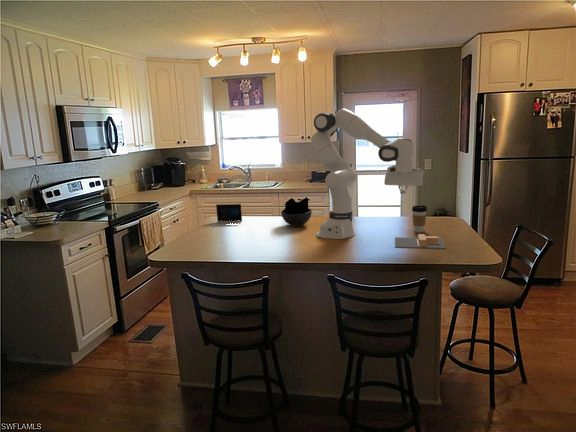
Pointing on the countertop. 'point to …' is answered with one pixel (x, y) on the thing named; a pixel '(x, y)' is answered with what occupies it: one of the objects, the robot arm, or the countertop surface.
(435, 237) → the t block
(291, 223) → the coal bowl
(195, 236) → the countertop surface
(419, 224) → the coffee cup
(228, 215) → the laptop
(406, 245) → the t mat
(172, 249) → the countertop surface
